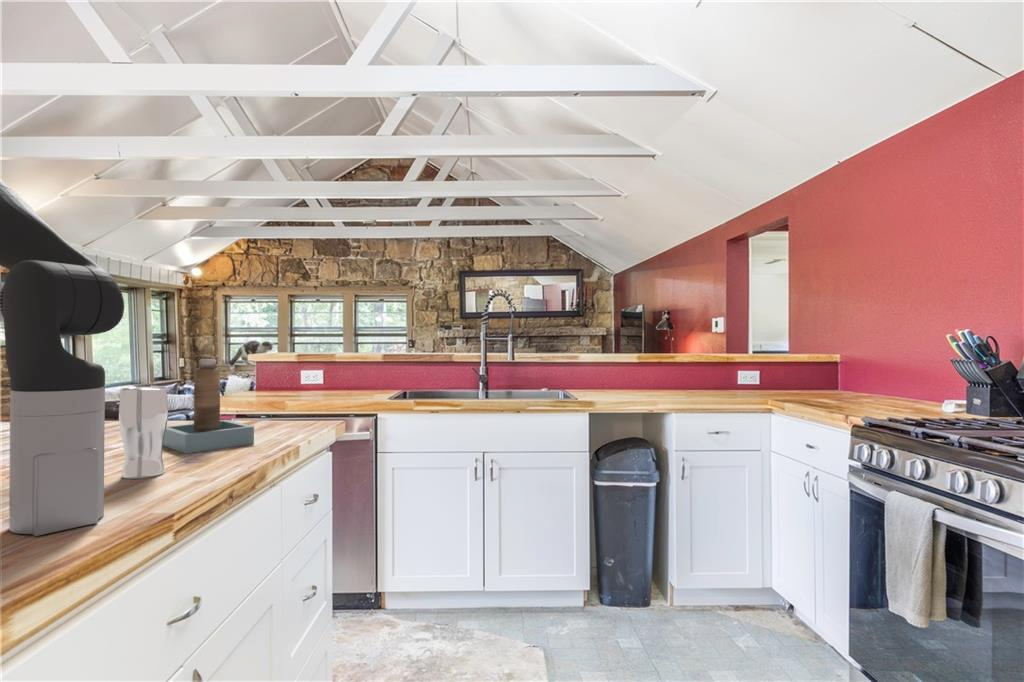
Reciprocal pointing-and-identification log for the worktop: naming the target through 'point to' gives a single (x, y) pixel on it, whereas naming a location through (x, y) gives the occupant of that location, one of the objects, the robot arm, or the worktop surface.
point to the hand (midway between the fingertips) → (113, 305)
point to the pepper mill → (206, 396)
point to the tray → (208, 437)
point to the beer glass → (143, 430)
